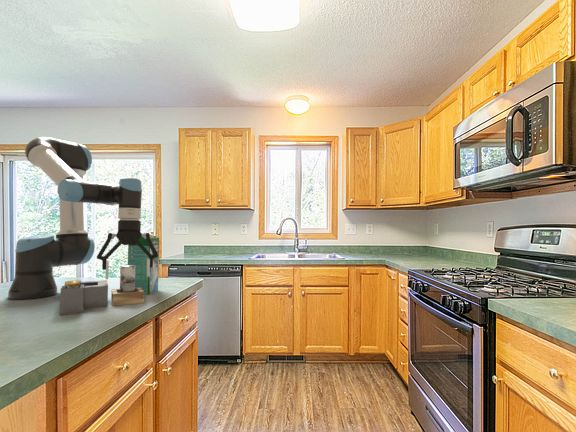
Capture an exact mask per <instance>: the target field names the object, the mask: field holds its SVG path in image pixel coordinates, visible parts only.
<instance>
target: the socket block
mask: <svg viewBox="0 0 576 432" xmlns="http://www.w3.org/2000/svg"><path fill="white" fill-rule="evenodd" d="M108 295H109V284H108V279H103V280H90V281H81V284H79V287H76V288H67V285H65V284H64V285H62V286H61V288H60V298H59V301H60V302H59V316H65V315H74V314H83V313H84V309H93V308H101V307H108V300H109V296H108Z"/></svg>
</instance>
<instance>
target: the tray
mask: <svg viewBox="0 0 576 432" xmlns="http://www.w3.org/2000/svg"><path fill="white" fill-rule="evenodd" d="M110 295H111V297H110V299H111V300H110V301H111V304H112V305H111V307H115V306H123V305H125V306H126V305H134V304H144V303H145V295H144V291H143V289H142V288H141V287H135V292H124V293H120V288H114V289H111V294H110Z"/></svg>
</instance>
